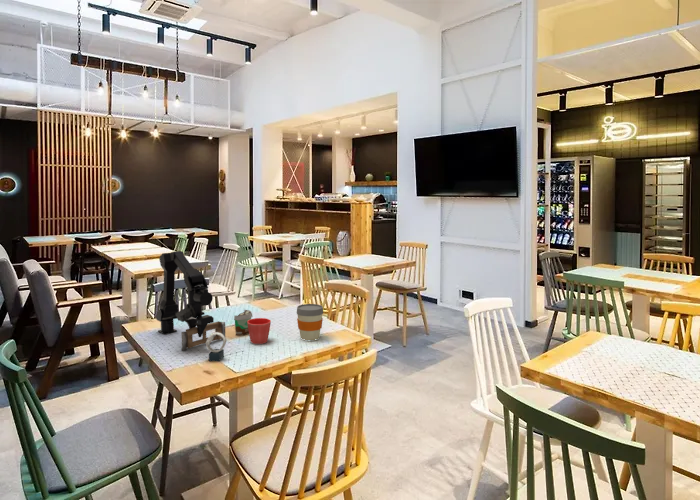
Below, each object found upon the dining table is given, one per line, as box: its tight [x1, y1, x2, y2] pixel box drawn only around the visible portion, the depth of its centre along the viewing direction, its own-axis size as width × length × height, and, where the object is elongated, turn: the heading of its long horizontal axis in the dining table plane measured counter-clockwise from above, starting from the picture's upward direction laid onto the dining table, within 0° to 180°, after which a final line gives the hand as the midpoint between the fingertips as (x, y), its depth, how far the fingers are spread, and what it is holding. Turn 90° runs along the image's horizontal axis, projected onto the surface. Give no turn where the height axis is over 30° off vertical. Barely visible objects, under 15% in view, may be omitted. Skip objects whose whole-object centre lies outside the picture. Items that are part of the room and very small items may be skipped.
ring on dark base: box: [205, 332, 227, 362], centre depth 188 cm, size 6×8×11 cm
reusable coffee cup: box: [296, 303, 324, 341], centre depth 217 cm, size 12×13×15 cm
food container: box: [233, 309, 253, 336], centre depth 223 cm, size 12×6×10 cm, turn 168°
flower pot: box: [247, 317, 272, 345], centre depth 211 cm, size 11×11×10 cm
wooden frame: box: [185, 321, 222, 349], centre depth 206 cm, size 2×17×8 cm, turn 141°
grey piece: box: [180, 321, 227, 352], centre depth 206 cm, size 2×22×8 cm, turn 141°
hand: (196, 335), depth 203 cm, fingers open, 5 cm apart
